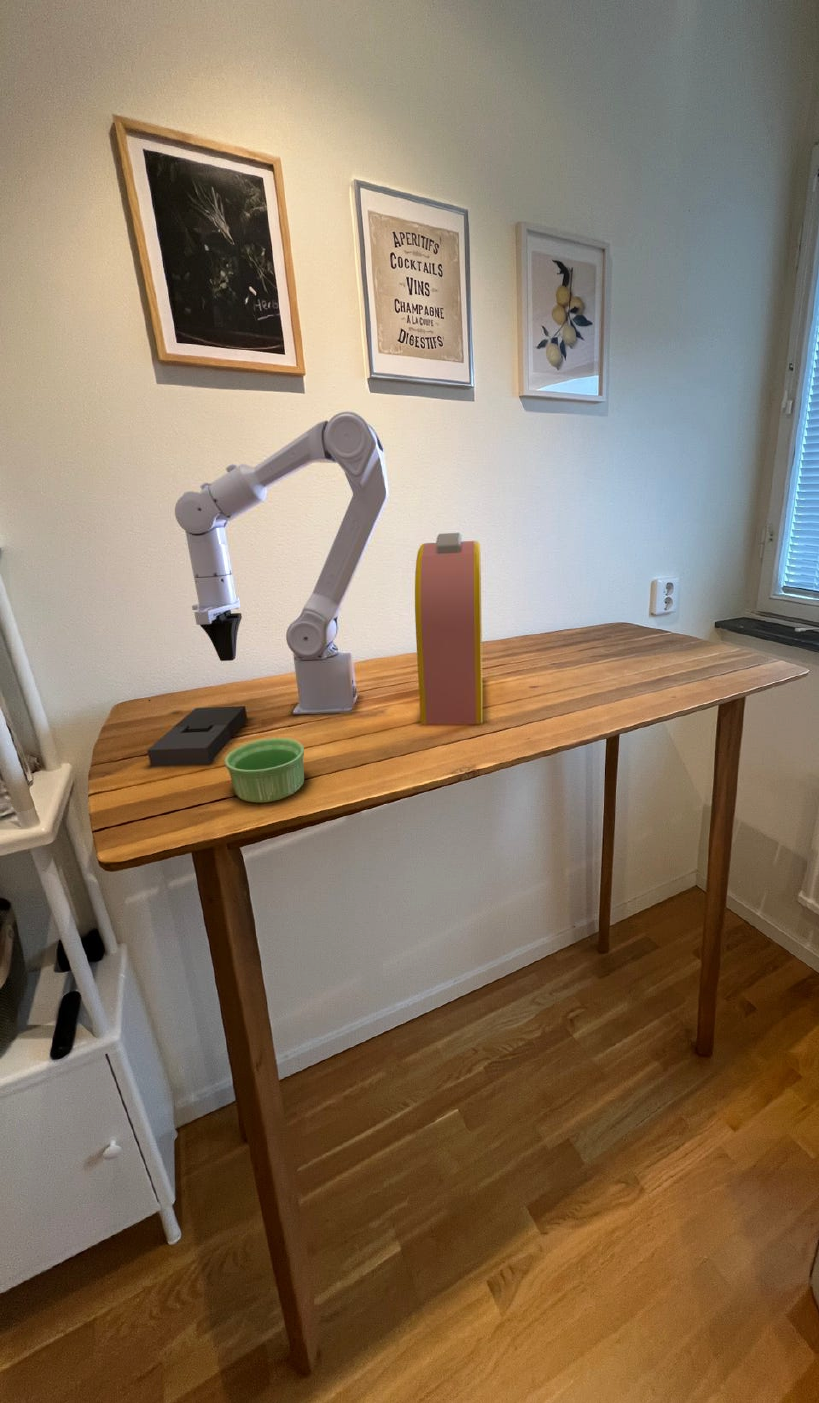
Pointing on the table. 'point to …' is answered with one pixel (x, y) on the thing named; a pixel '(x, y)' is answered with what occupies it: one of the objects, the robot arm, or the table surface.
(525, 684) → the table surface
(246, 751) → the ramekin
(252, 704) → the table surface
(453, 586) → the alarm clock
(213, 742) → the charcoal pad
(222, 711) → the black pad
